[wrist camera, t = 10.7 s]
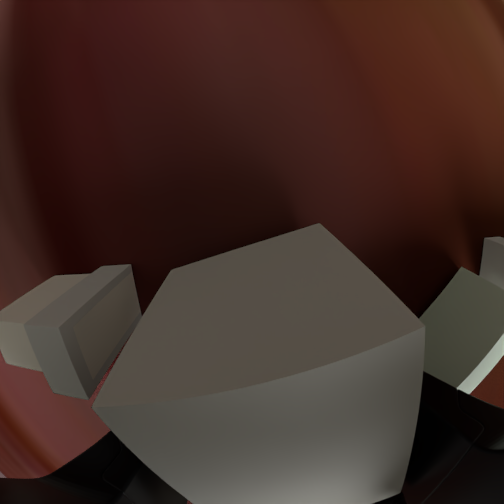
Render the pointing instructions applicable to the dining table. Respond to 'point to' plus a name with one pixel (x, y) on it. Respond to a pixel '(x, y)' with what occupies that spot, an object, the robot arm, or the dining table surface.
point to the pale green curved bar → (464, 331)
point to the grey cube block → (272, 378)
